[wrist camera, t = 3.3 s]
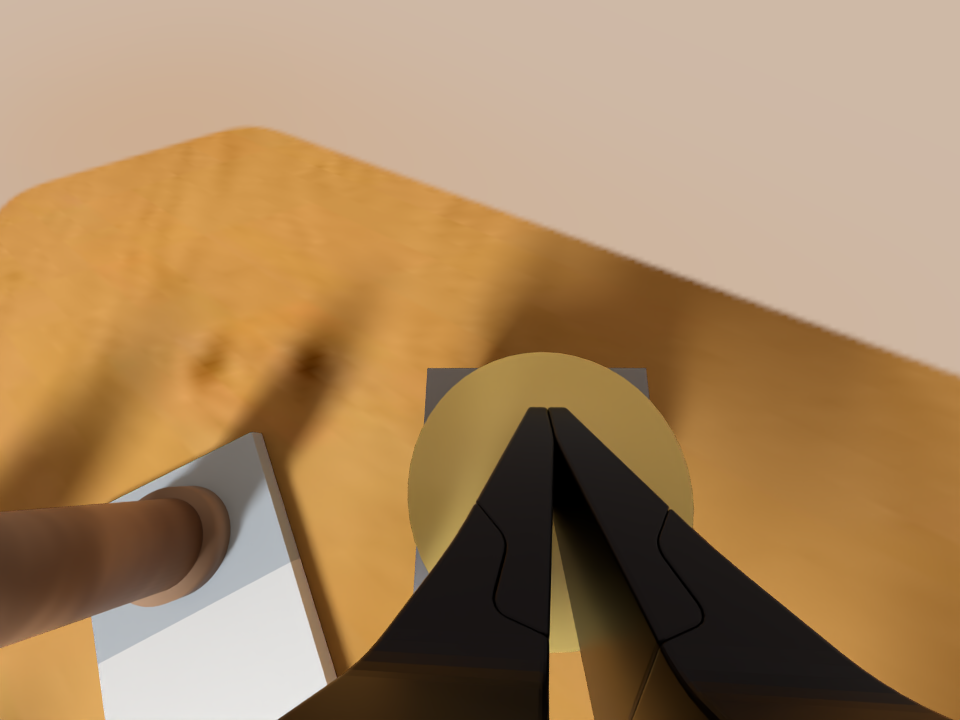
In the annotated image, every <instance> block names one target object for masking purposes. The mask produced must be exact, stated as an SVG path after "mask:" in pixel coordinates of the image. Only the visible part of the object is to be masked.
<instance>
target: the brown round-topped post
mask: <svg viewBox="0 0 960 720" xmlns="http://www.w3.org/2000/svg"><path fill="white" fill-rule="evenodd" d="M230 528H231V526H230V518H229V514H228V511H227V509H226V506H225V505H224V503H223V501H222V500H221V499H220V498H219V497H218V496H217V495H216V494H215V493H214V492H212V491H211V490H209V489H206V488H204V487H200V486H177V487H166V488H161V489H158V490H155V491H153V492H151V493H149V494H147V495H146V496H144V497H143V498H141V499H140V500H139V501H130V502H117V503H105V504H92V505H80V506H68V507H55V508H43V509H30V510H18V511H5V512H0V648H2V647H5V646H8V645H11V644H14V643H17V642H19V641H22V640H25V639H28V638H31V637H34V636H37V635H40V634H42V633H45V632H48V631H51V630H54V629H57V628H60V627H62V626H65V625H68V624H71V623H74V622H77V621H80V620H83V619H85V618H88V617H91V616H94V615H97V614H100V613H103V612H105V611H108V610H111V609H114V608H117V607H120V606H123V605H126V604H128V603H131V604H134V605H137V606H141V607H155V606H160V605H163V604H166V603H169V602H171V601H174V600H177V599H179V598H182V597H184V596H187V595H189V594H191V593H193V592H195V591H196V590H198V589H199V588H201V587H202V586H203V585H204V584H206V583H207V582H208V581H209V580H210V579H211V578H212V576H213V575H214V574H215V573H216V571H217V570H218V568H219V567H220V565H221V563H222V561H223V559H224V557H225V555H226V552H227V549H228V545H229V541H230Z"/></svg>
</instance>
